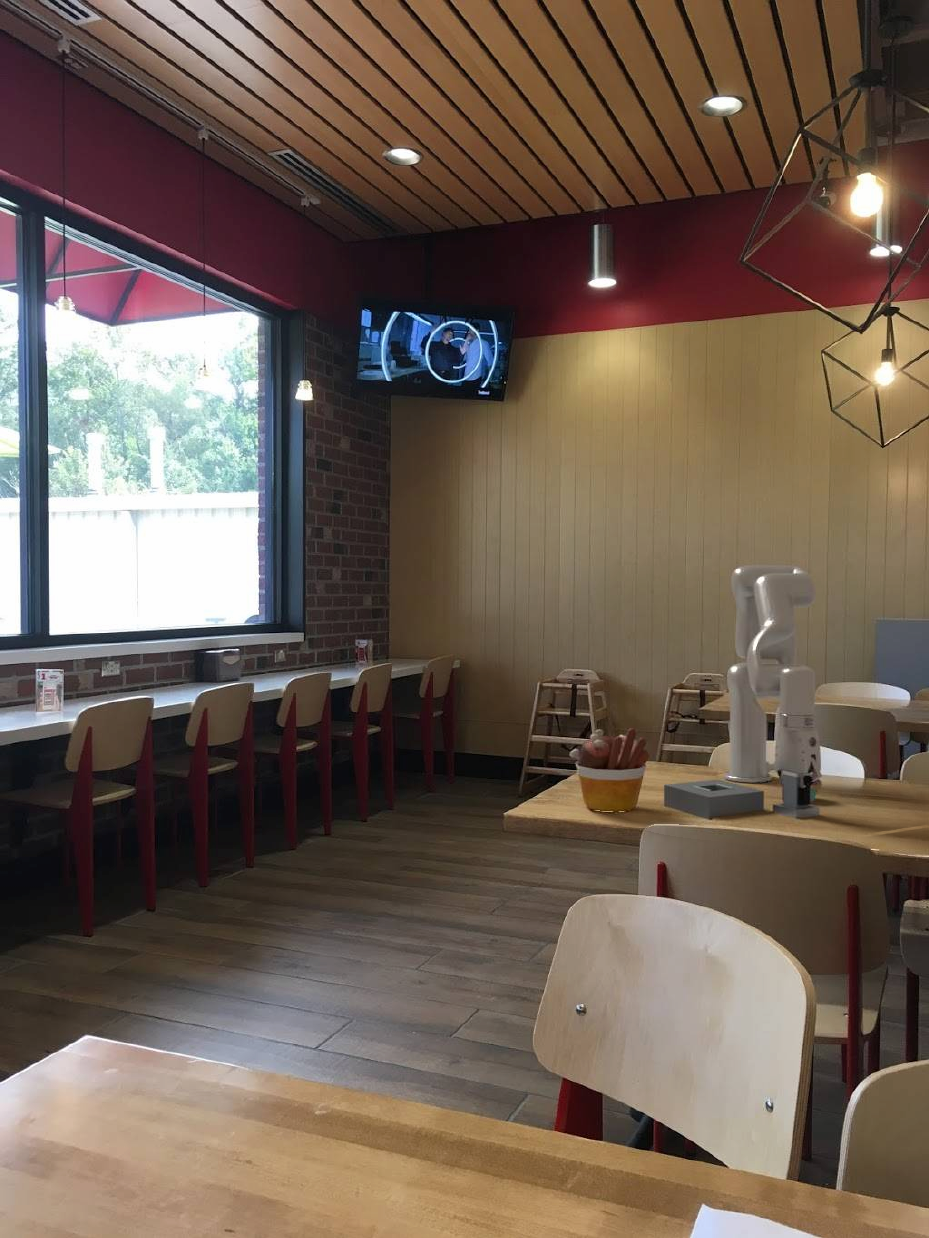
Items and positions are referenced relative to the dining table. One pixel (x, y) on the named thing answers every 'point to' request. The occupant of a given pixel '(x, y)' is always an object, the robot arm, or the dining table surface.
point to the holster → (796, 811)
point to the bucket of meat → (611, 770)
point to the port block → (713, 798)
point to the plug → (791, 790)
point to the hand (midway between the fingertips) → (796, 801)
